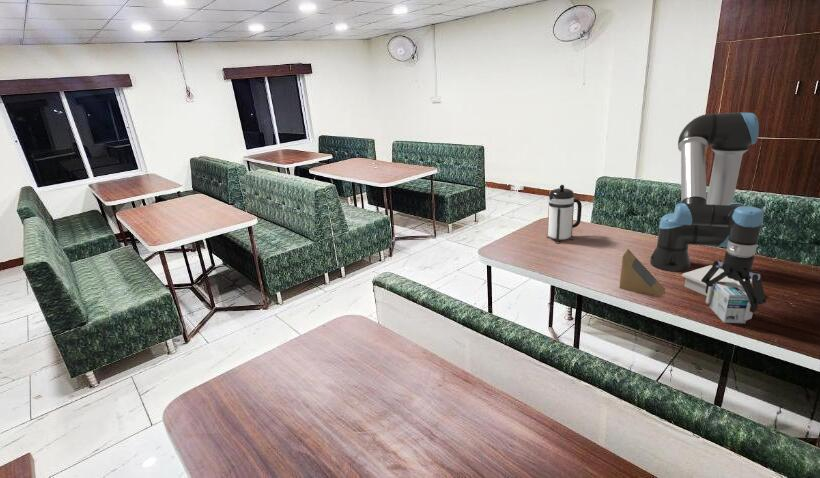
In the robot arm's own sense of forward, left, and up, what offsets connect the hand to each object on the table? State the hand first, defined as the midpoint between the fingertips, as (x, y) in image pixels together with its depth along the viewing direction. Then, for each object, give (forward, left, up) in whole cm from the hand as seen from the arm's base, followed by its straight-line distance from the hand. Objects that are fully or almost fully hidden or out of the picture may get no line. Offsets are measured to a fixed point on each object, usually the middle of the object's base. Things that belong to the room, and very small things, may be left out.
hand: (727, 310), depth 142 cm
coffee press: (-89, +3, -2) cm, 89 cm away
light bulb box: (0, 0, -2) cm, 2 cm away
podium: (-14, +14, -2) cm, 20 cm away
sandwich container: (-28, -8, -2) cm, 29 cm away
